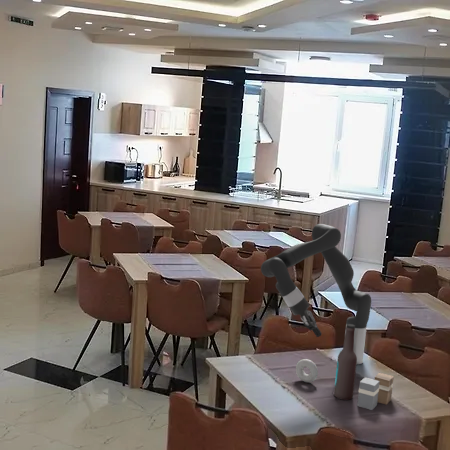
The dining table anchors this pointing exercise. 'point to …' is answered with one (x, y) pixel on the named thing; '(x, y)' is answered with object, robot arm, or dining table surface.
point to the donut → (311, 366)
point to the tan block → (384, 387)
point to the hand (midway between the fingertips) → (319, 335)
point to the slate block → (368, 393)
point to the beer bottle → (346, 367)
